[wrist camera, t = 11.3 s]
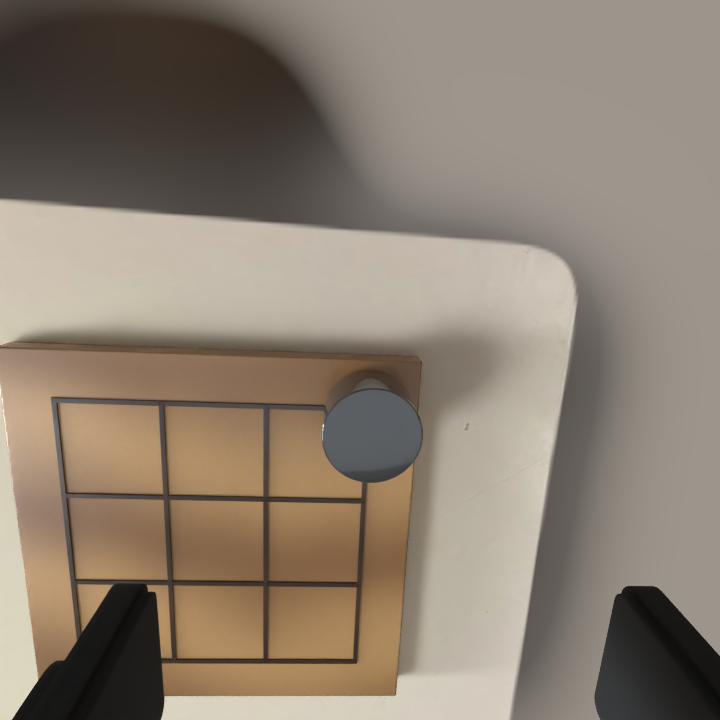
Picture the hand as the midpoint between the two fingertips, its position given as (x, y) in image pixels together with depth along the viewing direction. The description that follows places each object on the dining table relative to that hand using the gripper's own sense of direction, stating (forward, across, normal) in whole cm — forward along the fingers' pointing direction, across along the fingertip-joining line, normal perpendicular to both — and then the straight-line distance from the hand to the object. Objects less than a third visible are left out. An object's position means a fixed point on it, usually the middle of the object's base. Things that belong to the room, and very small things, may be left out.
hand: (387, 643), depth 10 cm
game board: (+16, +7, +8) cm, 19 cm away
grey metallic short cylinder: (+14, 0, +1) cm, 14 cm away
